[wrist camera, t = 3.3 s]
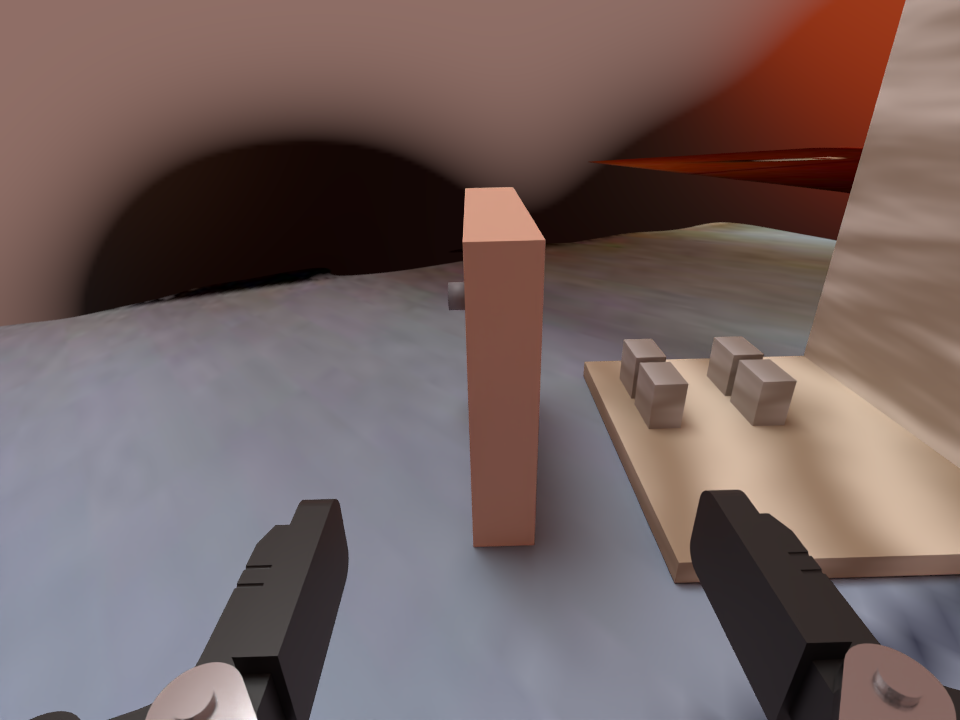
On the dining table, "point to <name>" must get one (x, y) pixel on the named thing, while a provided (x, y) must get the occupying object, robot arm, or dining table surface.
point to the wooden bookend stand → (833, 362)
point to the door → (502, 361)
